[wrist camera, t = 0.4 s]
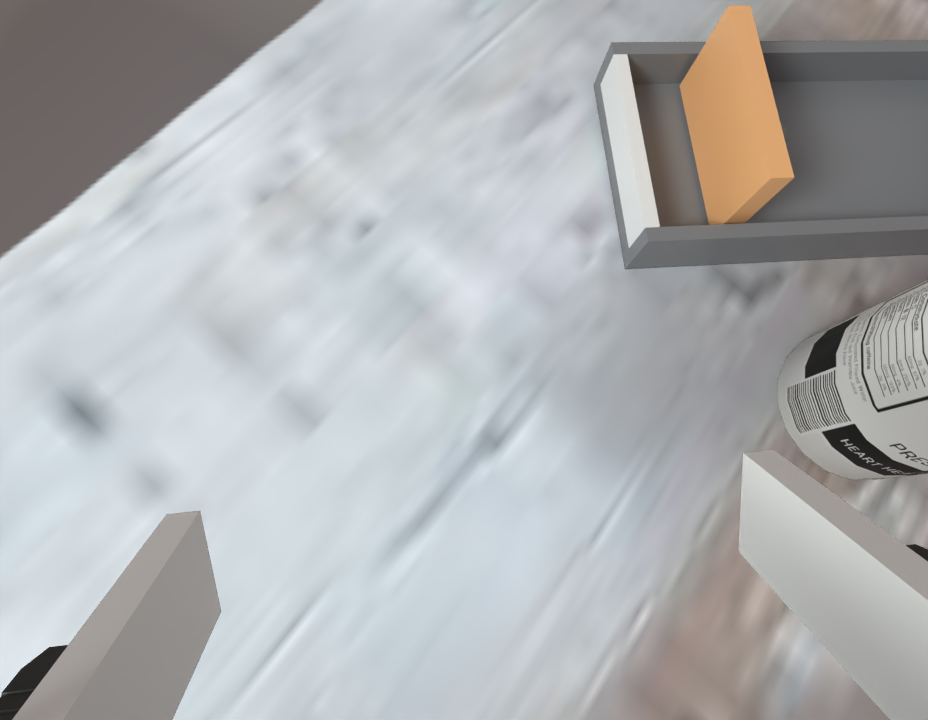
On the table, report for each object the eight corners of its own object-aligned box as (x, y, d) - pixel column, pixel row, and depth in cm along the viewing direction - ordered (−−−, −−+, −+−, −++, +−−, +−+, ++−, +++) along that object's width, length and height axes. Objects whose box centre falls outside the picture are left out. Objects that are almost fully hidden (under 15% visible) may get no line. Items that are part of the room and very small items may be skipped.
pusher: (780, 232, 36) (852, 175, 30) (711, 236, 36) (770, 178, 30) (744, 84, 39) (804, 5, 33) (679, 85, 38) (728, 5, 32)
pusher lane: (1030, 249, 39) (1139, 199, 33) (624, 269, 36) (667, 218, 30) (970, 79, 42) (1060, 6, 36) (593, 84, 39) (626, 7, 33)
